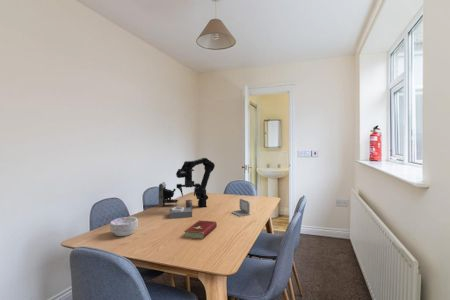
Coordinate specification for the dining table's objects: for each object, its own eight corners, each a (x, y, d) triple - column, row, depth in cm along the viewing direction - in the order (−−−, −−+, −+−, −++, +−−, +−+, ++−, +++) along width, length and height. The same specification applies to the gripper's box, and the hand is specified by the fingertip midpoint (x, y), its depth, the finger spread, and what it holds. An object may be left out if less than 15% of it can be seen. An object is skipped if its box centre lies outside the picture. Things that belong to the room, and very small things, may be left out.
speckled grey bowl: (123, 239, 138) (122, 225, 138) (104, 235, 145) (104, 222, 145) (143, 231, 151) (143, 218, 151) (125, 227, 158) (125, 215, 158)
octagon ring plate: (190, 212, 192) (190, 205, 192) (192, 216, 180) (192, 209, 180) (169, 214, 189) (169, 206, 189) (169, 218, 177) (169, 210, 177)
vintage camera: (176, 207, 212) (176, 183, 212) (158, 206, 212) (158, 183, 212) (178, 204, 221) (179, 182, 221) (161, 204, 222) (161, 182, 222)
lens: (192, 209, 202) (191, 199, 202) (192, 211, 197) (192, 200, 197) (185, 209, 201) (185, 200, 201) (185, 211, 196) (185, 201, 196)
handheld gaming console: (230, 212, 191) (230, 199, 190) (241, 210, 195) (240, 198, 195) (239, 216, 179) (239, 202, 179) (250, 214, 183) (250, 201, 183)
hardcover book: (216, 227, 157) (216, 221, 157) (203, 239, 137) (203, 232, 137) (199, 226, 161) (199, 219, 160) (184, 237, 141) (183, 230, 141)
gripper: (176, 178, 189) (176, 198, 189) (201, 177, 192) (201, 198, 192) (176, 176, 200) (176, 196, 200) (199, 176, 203) (199, 195, 203)
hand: (188, 196), depth 199 cm, fingers open, 9 cm apart
